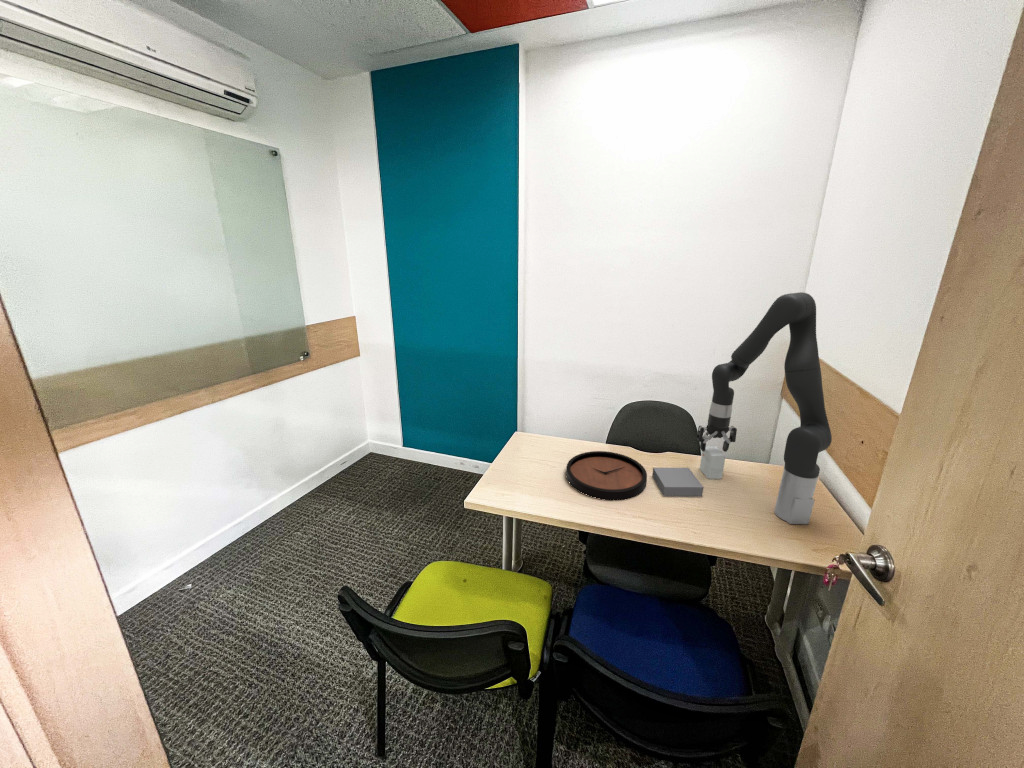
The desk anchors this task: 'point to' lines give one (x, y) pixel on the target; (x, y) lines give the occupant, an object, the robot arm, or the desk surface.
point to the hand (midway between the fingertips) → (713, 450)
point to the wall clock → (606, 475)
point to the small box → (712, 463)
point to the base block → (677, 482)
